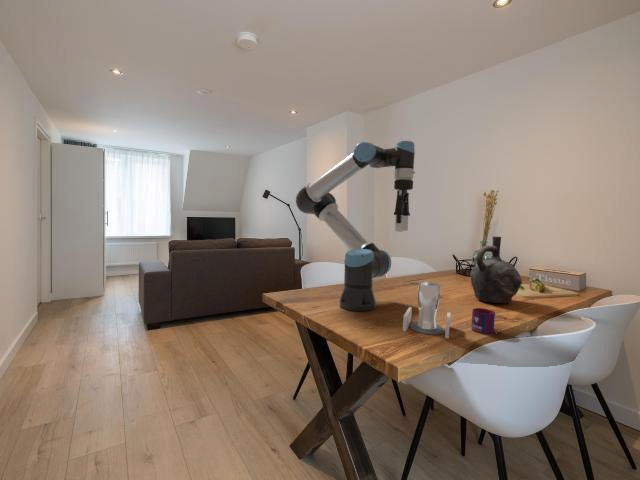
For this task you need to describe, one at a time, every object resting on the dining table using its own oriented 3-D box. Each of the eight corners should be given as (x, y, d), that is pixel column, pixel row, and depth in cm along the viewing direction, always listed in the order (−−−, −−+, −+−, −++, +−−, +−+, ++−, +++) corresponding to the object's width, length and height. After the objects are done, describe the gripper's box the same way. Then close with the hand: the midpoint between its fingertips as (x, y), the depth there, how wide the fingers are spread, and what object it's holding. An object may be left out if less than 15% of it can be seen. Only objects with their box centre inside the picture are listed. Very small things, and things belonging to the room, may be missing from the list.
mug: (466, 328, 109) (468, 309, 108) (485, 325, 113) (487, 306, 113) (484, 335, 103) (486, 314, 102) (504, 331, 108) (505, 311, 107)
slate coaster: (407, 331, 105) (407, 329, 105) (412, 321, 115) (412, 320, 115) (443, 337, 100) (443, 335, 100) (445, 326, 110) (445, 325, 110)
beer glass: (435, 332, 103) (437, 286, 102) (413, 328, 107) (415, 283, 105) (440, 326, 109) (442, 283, 107) (419, 322, 112) (421, 280, 111)
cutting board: (527, 299, 155) (528, 284, 154) (489, 289, 177) (490, 275, 177) (580, 296, 165) (581, 282, 164) (538, 286, 187) (539, 274, 186)
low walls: (402, 331, 105) (403, 316, 105) (408, 320, 116) (408, 307, 116) (448, 338, 99) (449, 322, 99) (449, 326, 110) (450, 312, 110)
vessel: (512, 312, 130) (518, 239, 128) (458, 301, 145) (461, 235, 143) (526, 301, 148) (530, 237, 146) (475, 293, 163) (479, 234, 161)
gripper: (408, 175, 120) (405, 232, 121) (417, 182, 142) (414, 230, 144) (388, 176, 123) (386, 231, 124) (399, 183, 145) (397, 229, 147)
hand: (401, 231), depth 134 cm, fingers open, 13 cm apart
